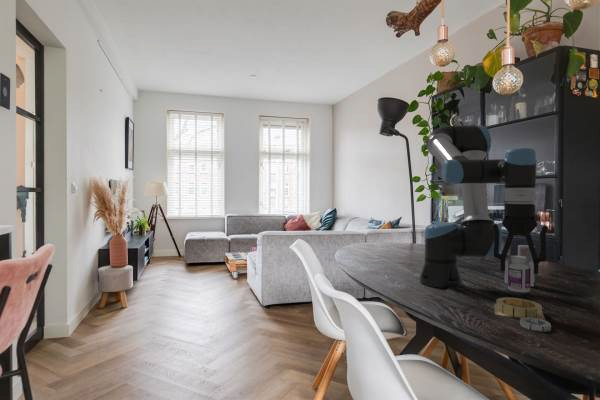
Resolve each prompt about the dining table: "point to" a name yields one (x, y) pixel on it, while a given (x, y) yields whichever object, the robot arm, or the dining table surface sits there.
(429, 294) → the dining table surface
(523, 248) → the beverage can
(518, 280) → the pill bottle
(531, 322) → the grey collar
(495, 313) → the oak plate
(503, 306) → the brass collar
